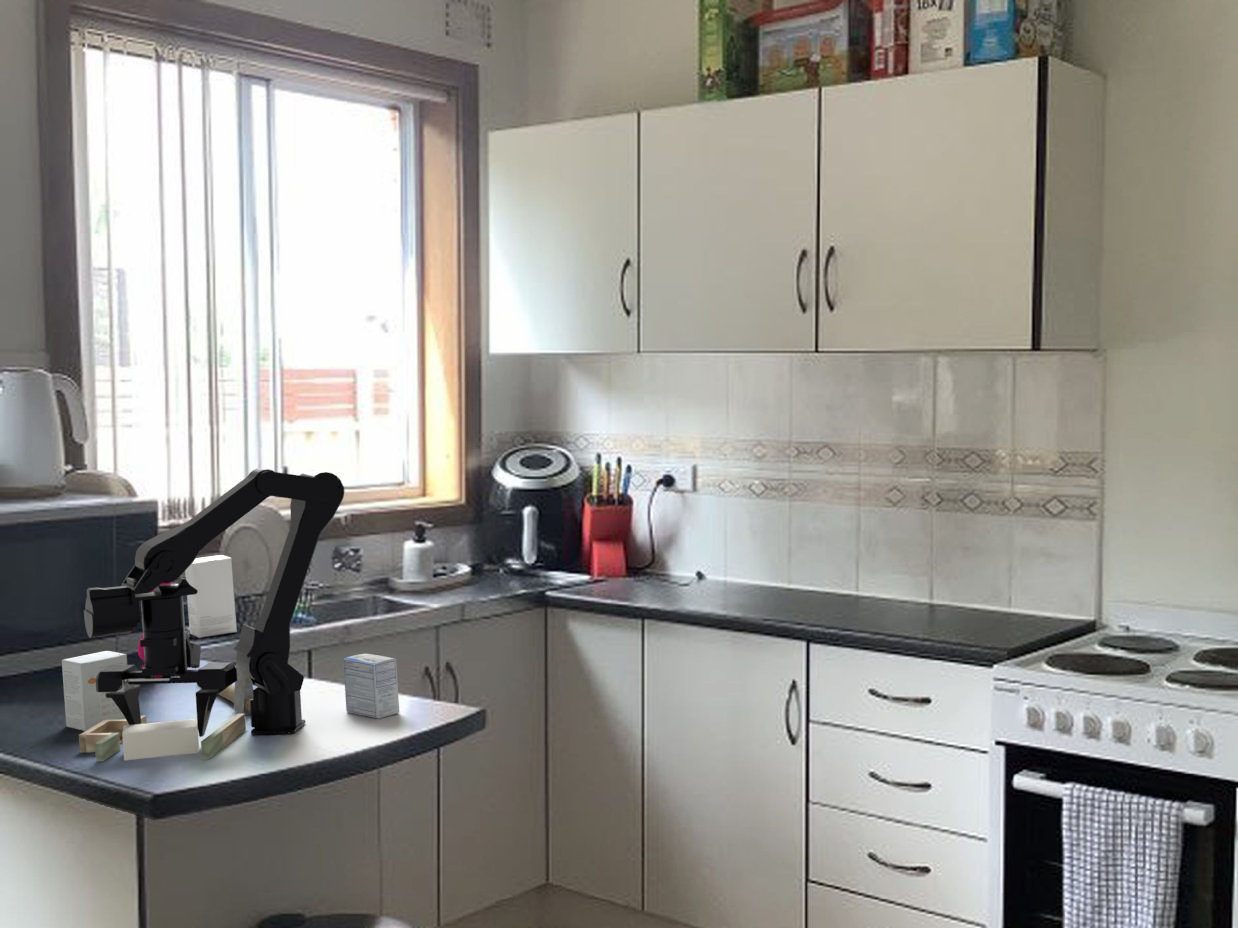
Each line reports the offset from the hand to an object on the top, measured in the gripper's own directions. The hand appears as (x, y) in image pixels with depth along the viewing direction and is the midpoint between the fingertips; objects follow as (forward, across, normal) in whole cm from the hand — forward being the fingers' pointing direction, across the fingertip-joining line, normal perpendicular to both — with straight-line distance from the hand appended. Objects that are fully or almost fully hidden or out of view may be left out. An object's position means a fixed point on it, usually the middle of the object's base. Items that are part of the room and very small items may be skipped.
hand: (170, 736), depth 212 cm
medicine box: (+2, -25, -18) cm, 31 cm away
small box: (+2, +17, -15) cm, 23 cm away
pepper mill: (+2, +21, -51) cm, 55 cm away
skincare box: (+2, +25, -90) cm, 93 cm away
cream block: (+2, 0, +2) cm, 3 cm away
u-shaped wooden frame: (+1, +2, -1) cm, 3 cm away
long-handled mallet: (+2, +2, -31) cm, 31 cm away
